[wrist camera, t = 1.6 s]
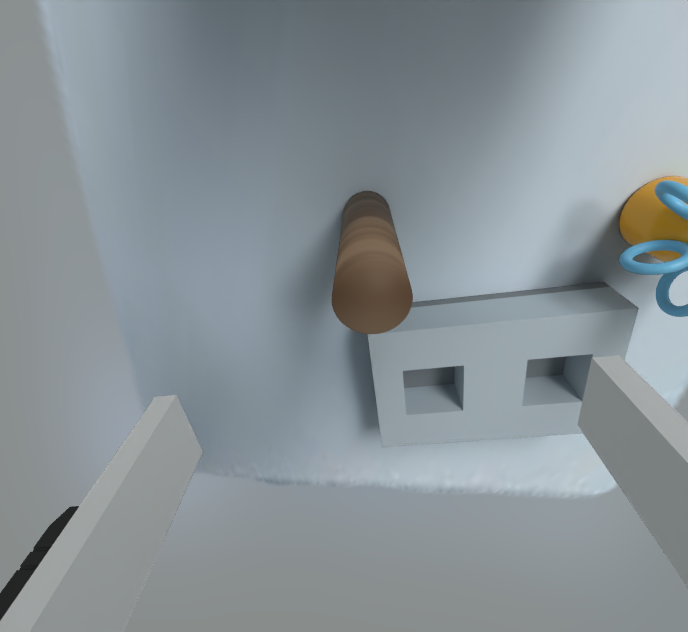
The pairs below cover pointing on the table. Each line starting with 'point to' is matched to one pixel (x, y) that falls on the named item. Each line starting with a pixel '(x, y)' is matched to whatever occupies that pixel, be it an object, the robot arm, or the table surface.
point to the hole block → (495, 363)
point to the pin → (370, 268)
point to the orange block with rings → (658, 234)
